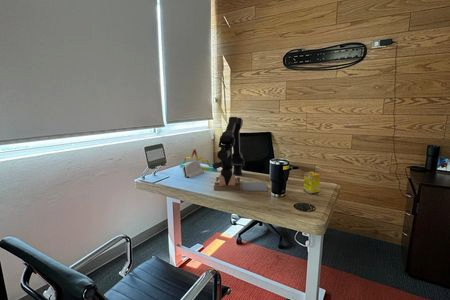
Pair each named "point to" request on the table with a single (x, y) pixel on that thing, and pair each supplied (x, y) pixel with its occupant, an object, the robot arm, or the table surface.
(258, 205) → the table surface
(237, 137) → the robot arm
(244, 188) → the charcoal mat
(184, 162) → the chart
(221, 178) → the terracotta board
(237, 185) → the walnut rack
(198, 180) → the table surface
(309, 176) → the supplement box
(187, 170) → the beige rounded block
